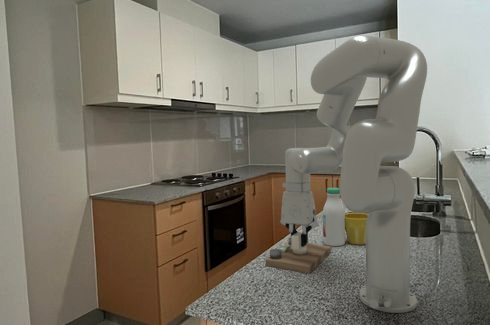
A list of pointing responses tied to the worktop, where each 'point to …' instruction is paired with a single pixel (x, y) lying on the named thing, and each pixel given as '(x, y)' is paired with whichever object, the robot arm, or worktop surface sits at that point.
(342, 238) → the milk bottle
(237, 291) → the worktop surface
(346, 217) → the plant pot
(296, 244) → the wing knob
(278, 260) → the brown lever switch panel
